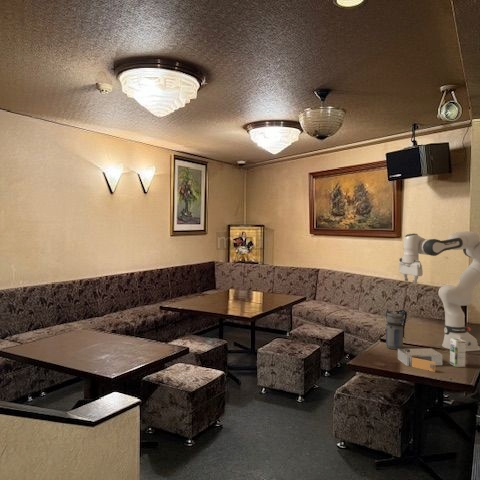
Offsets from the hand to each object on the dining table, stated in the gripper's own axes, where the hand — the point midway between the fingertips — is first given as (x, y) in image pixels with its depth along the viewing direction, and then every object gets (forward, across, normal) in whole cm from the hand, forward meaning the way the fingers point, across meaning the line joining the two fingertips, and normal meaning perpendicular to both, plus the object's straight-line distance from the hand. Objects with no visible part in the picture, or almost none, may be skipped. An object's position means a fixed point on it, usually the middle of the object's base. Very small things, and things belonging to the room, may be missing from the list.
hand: (410, 282), depth 251 cm
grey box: (+43, -21, +7) cm, 48 cm away
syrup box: (+43, -29, -11) cm, 53 cm away
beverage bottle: (+43, +7, +5) cm, 44 cm away
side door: (+43, -32, +12) cm, 55 cm away
